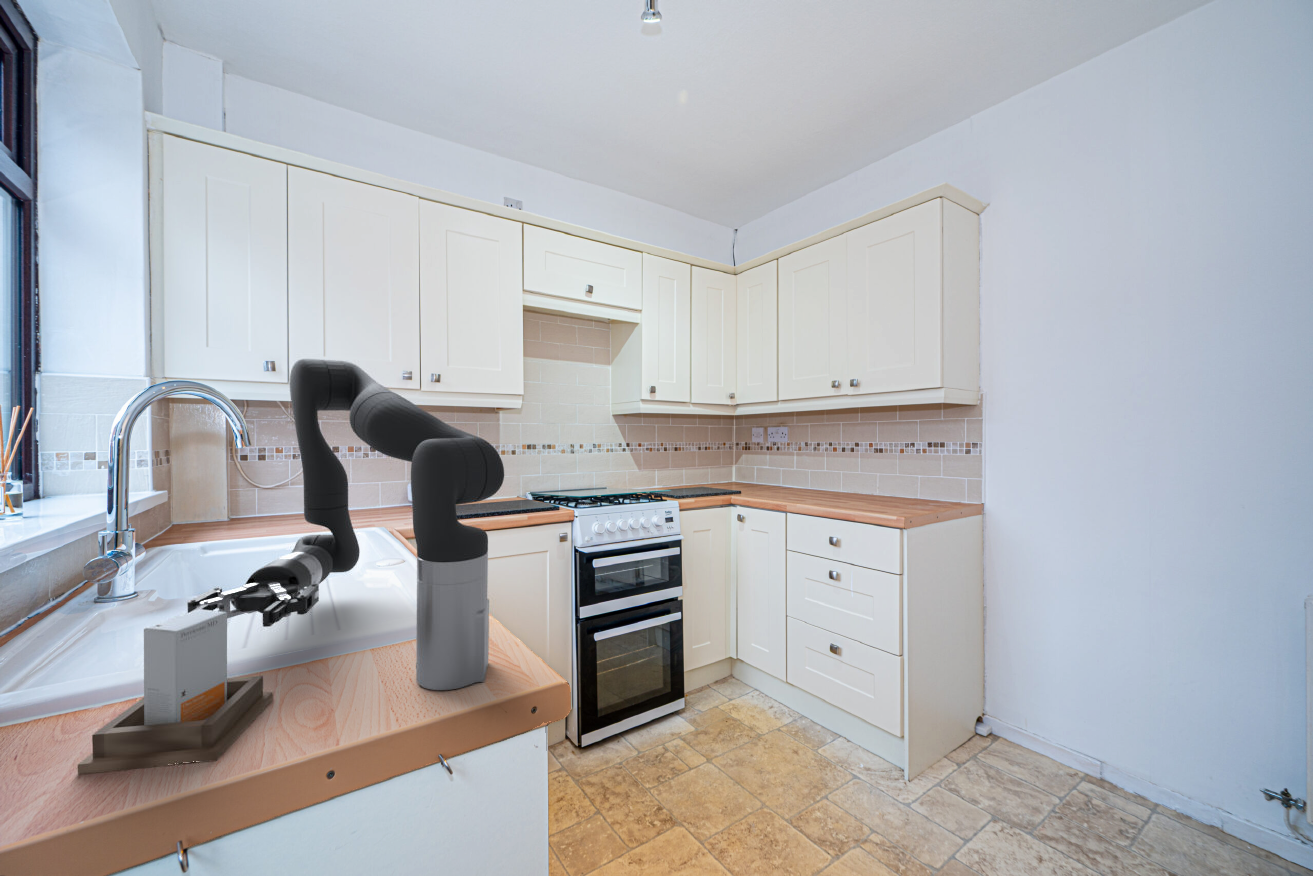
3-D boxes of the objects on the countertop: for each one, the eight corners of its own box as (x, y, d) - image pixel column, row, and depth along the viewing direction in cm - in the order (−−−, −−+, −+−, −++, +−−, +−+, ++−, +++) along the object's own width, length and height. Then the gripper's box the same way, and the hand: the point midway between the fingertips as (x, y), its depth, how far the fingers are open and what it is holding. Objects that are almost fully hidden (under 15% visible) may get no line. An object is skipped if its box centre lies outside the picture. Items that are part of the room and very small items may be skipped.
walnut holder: (272, 699, 67) (272, 672, 67) (216, 760, 56) (216, 727, 56) (161, 708, 65) (160, 680, 65) (77, 774, 53) (76, 740, 53)
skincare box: (176, 741, 57) (174, 631, 56) (143, 736, 58) (140, 628, 57) (230, 710, 63) (228, 611, 62) (199, 706, 64) (198, 607, 63)
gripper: (234, 559, 82) (161, 595, 66) (336, 556, 85) (290, 589, 69) (234, 607, 82) (162, 654, 67) (336, 602, 85) (290, 646, 70)
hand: (228, 621), depth 68 cm, fingers open, 8 cm apart
